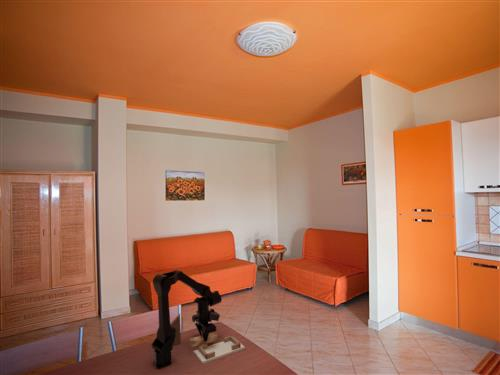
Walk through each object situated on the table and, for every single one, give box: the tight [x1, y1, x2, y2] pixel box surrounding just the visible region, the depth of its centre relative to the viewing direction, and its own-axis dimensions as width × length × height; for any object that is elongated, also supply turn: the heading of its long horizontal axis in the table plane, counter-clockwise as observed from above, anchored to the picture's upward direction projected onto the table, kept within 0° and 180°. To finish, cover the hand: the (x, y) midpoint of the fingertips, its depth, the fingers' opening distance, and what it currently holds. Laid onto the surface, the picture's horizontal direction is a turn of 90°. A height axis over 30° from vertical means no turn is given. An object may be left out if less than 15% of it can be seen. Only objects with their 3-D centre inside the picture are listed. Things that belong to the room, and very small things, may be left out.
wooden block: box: [170, 313, 182, 345], centre depth 151 cm, size 4×11×18 cm, turn 96°
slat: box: [189, 332, 219, 348], centre depth 151 cm, size 14×4×3 cm, turn 113°
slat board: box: [193, 335, 246, 365], centre depth 142 cm, size 22×11×3 cm, turn 122°
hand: (204, 339), depth 151 cm, fingers closed on slat, 4 cm apart
